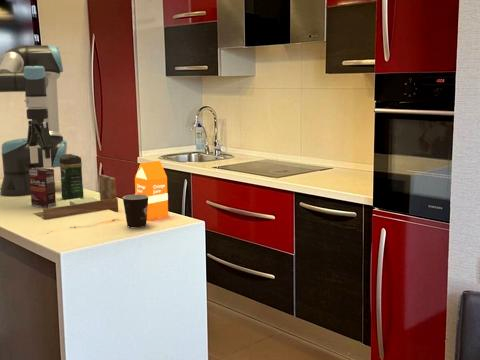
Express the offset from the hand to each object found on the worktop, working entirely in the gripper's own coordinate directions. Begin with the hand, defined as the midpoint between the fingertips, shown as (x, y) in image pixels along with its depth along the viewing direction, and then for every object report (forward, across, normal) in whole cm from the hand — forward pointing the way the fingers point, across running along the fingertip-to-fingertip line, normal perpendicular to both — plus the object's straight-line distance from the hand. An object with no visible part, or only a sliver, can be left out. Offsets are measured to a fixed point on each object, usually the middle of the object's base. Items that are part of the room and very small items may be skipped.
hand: (40, 165), depth 224 cm
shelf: (+18, +15, +7) cm, 24 cm away
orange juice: (+18, +36, +27) cm, 48 cm away
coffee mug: (+18, +44, +15) cm, 49 cm away
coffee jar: (+17, -12, +17) cm, 27 cm away
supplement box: (+18, 0, 0) cm, 18 cm away
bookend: (+14, +15, +6) cm, 21 cm away
